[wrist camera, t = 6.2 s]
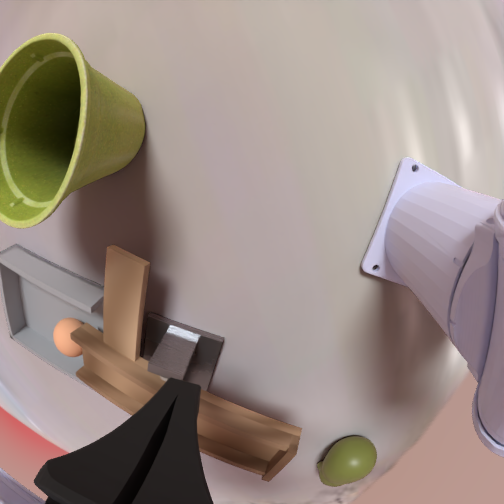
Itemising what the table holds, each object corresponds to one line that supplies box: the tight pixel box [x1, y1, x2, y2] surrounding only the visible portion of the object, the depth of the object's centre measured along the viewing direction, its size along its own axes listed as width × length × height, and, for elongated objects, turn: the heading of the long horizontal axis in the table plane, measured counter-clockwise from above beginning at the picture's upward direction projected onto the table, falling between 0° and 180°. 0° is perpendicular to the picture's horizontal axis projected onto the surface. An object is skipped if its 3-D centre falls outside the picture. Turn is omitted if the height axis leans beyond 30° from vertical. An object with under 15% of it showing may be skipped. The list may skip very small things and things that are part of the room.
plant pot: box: [0, 33, 145, 229], centre depth 12 cm, size 9×9×9 cm
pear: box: [317, 436, 377, 487], centre depth 24 cm, size 6×5×10 cm
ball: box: [53, 318, 83, 357], centre depth 20 cm, size 4×4×4 cm
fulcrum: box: [143, 312, 224, 391], centre depth 20 cm, size 6×9×5 cm, turn 163°
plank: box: [70, 245, 302, 482], centre depth 16 cm, size 18×13×2 cm
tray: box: [0, 244, 104, 391], centre depth 21 cm, size 12×10×3 cm
